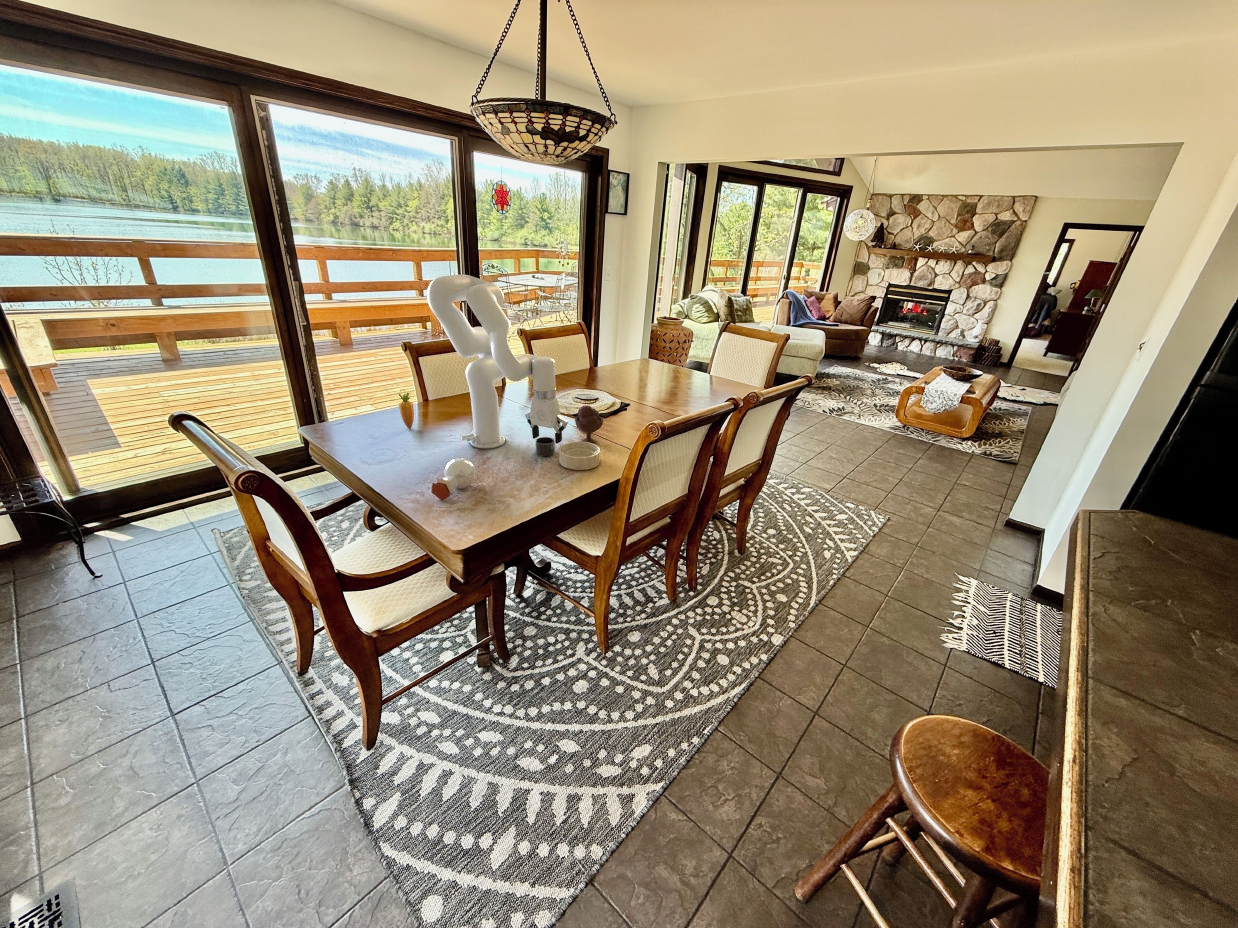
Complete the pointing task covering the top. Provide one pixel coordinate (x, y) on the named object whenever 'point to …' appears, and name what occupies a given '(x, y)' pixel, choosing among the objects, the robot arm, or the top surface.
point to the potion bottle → (454, 478)
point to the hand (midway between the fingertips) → (547, 439)
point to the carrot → (406, 410)
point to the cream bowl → (579, 455)
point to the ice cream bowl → (588, 422)
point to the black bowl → (545, 446)
